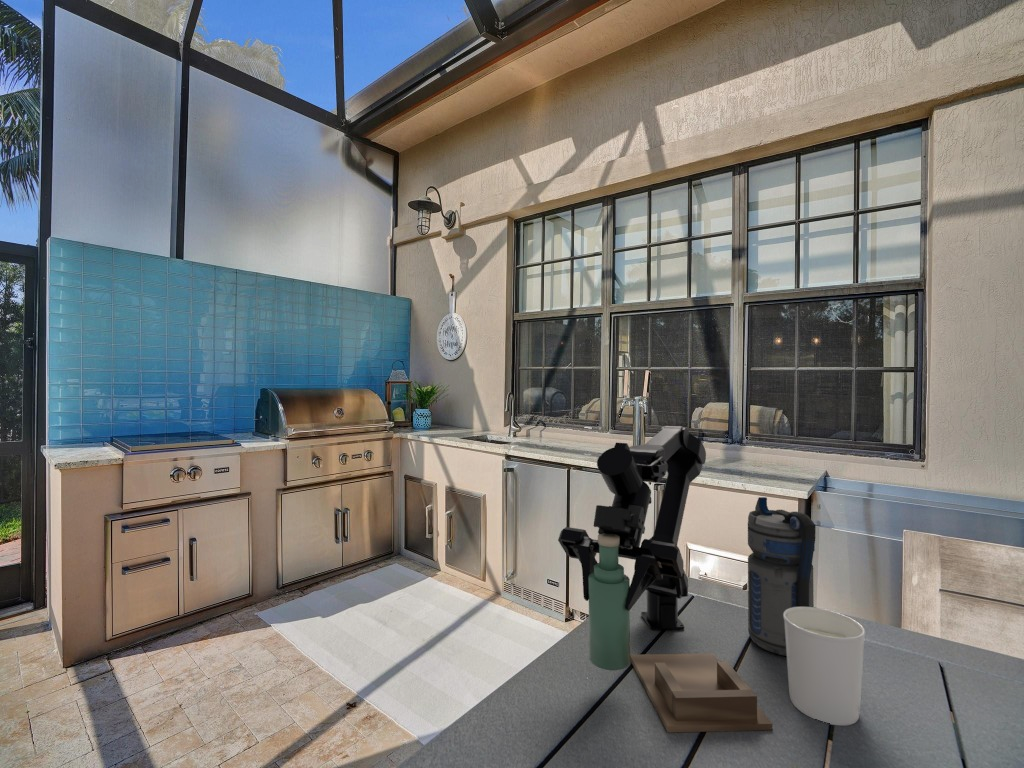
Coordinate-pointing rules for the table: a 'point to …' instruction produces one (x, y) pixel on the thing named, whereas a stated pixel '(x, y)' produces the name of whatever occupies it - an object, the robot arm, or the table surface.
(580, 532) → the robot arm
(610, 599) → the oil bottle
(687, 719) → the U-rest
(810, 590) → the beverage bottle
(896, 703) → the table surface
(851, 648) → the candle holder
